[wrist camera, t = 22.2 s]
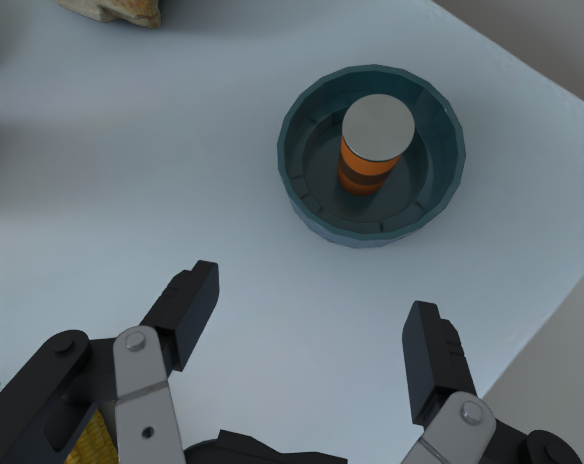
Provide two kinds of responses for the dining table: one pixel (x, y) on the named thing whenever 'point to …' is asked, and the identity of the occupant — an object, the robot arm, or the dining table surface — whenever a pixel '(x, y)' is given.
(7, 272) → the dining table surface
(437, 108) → the bowl
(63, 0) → the rough brown rock
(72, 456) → the food
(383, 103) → the tube
